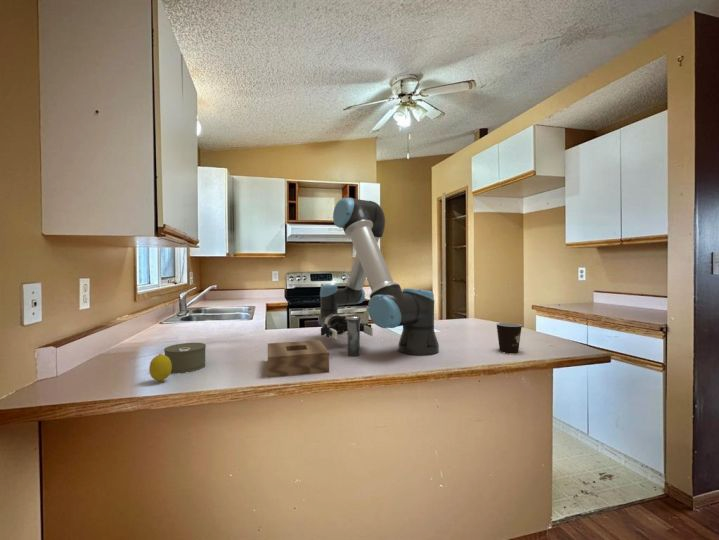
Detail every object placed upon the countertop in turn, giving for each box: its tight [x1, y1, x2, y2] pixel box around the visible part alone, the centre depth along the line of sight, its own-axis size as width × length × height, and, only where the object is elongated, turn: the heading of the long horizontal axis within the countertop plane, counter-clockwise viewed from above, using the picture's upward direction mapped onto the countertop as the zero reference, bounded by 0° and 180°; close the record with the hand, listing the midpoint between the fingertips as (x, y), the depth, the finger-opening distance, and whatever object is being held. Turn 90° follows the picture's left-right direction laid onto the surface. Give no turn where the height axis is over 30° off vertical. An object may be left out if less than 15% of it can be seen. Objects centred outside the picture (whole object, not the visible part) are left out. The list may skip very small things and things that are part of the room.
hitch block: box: [267, 339, 330, 378], centre depth 114 cm, size 18×18×6 cm
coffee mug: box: [496, 322, 523, 354], centre depth 132 cm, size 12×9×10 cm
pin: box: [344, 314, 363, 357], centre depth 128 cm, size 6×6×14 cm
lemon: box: [148, 353, 172, 383], centre depth 100 cm, size 6×6×8 cm
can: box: [163, 342, 207, 374], centre depth 113 cm, size 12×12×7 cm
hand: (354, 333), depth 127 cm, fingers open, 13 cm apart
